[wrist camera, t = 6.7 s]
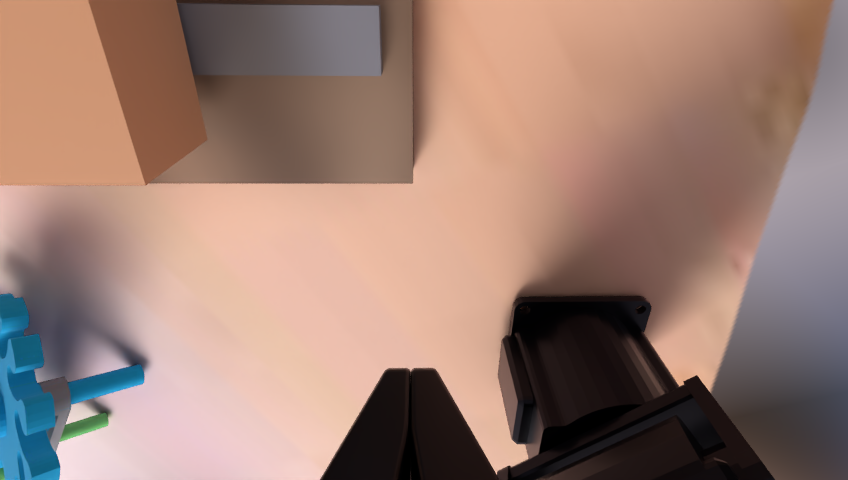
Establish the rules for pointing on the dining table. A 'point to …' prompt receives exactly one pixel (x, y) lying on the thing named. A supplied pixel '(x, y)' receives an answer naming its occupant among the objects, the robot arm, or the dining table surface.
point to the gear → (41, 400)
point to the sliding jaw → (94, 92)
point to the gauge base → (300, 91)
